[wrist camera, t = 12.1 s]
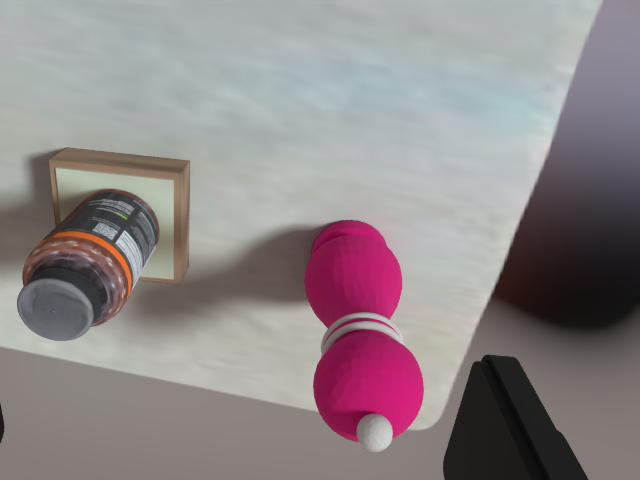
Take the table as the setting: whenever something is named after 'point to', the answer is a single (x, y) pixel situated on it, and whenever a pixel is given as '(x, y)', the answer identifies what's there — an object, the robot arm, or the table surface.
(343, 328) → the pepper mill
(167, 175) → the base
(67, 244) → the supplement bottle
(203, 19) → the table surface
